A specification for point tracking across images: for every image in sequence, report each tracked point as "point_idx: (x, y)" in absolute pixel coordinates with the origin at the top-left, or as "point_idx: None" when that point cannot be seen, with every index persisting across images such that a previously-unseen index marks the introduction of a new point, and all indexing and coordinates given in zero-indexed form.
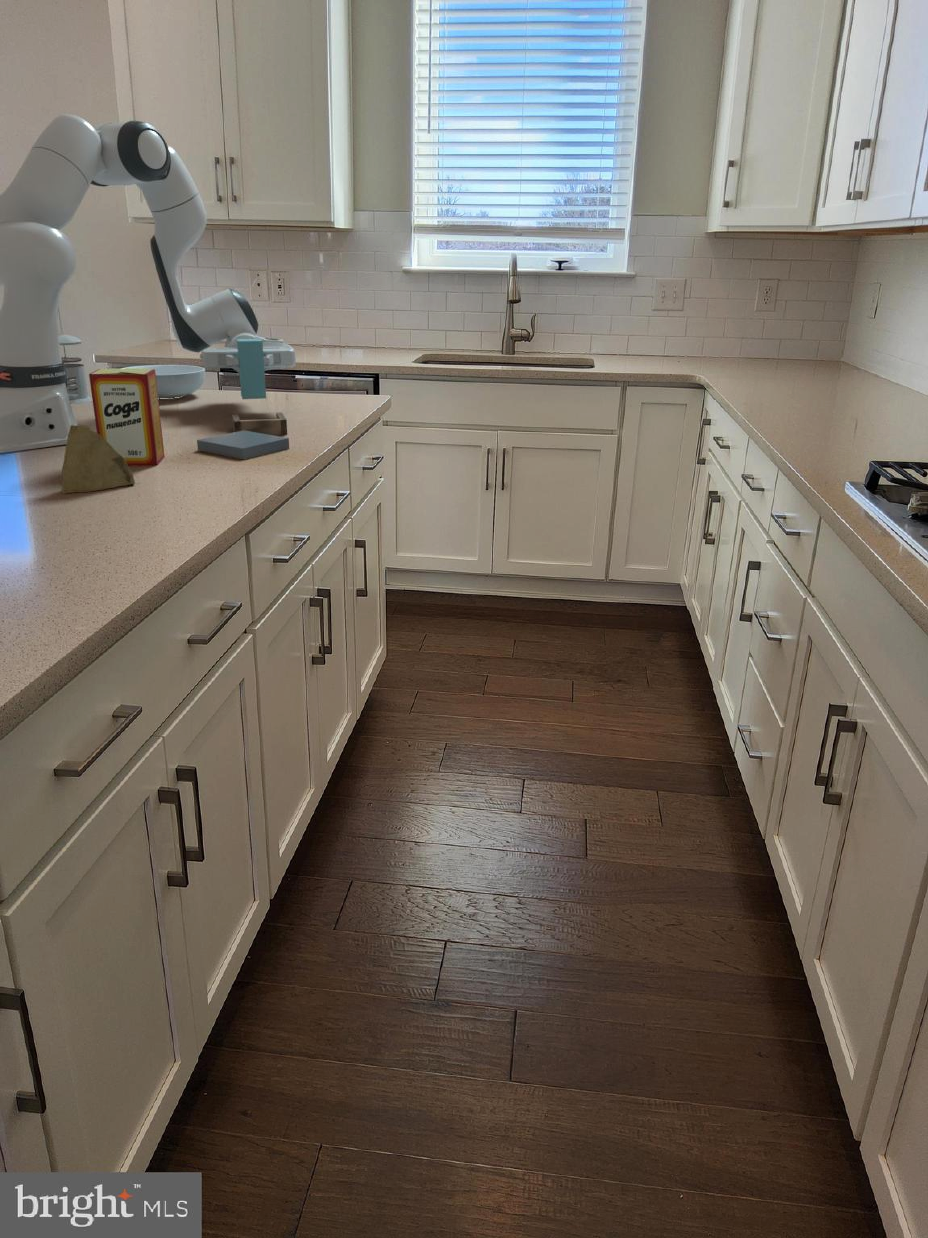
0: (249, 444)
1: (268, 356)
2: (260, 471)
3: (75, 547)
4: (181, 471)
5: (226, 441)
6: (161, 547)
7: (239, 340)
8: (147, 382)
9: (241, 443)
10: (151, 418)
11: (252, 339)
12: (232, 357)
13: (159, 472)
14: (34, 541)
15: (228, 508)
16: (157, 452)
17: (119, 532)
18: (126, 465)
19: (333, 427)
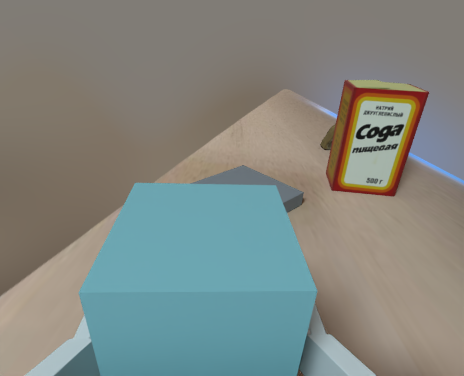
0: (235, 173)
1: (80, 330)
2: (227, 154)
3: (308, 111)
4: (296, 160)
5: (263, 184)
6: (273, 108)
7: (273, 211)
8: (343, 89)
9: (244, 177)
10: (335, 127)
11: (176, 241)
12: (314, 311)
13: (314, 161)
14: (329, 115)
15: (249, 123)
16: (329, 165)
17: (296, 115)
18: (327, 132)
19: (25, 311)
